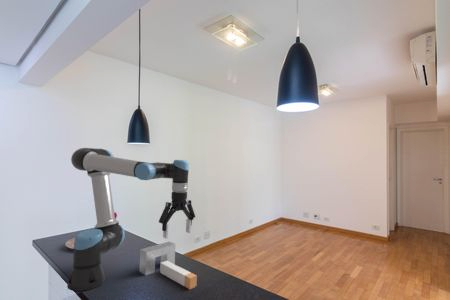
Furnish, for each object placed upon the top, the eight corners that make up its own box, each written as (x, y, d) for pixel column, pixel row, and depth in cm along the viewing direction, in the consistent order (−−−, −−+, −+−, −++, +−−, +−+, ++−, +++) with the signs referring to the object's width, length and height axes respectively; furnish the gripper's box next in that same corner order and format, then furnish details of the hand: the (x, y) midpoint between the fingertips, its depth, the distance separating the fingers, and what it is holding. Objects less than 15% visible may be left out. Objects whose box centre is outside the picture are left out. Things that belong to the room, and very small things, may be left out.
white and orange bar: (196, 286, 114) (196, 275, 115) (189, 289, 111) (190, 278, 112) (166, 270, 130) (166, 260, 131) (160, 272, 127) (160, 262, 128)
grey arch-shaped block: (174, 264, 137) (175, 244, 138) (145, 275, 124) (146, 252, 124) (168, 261, 141) (169, 241, 142) (139, 271, 128) (140, 249, 128)
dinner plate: (119, 240, 176) (119, 235, 177) (95, 254, 149) (96, 249, 149) (83, 238, 179) (84, 233, 179) (54, 251, 152) (54, 246, 152)
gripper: (162, 194, 109) (159, 242, 108) (203, 190, 127) (201, 232, 126) (152, 191, 114) (150, 238, 113) (194, 189, 132) (191, 228, 131)
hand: (177, 235), depth 119 cm, fingers open, 13 cm apart
